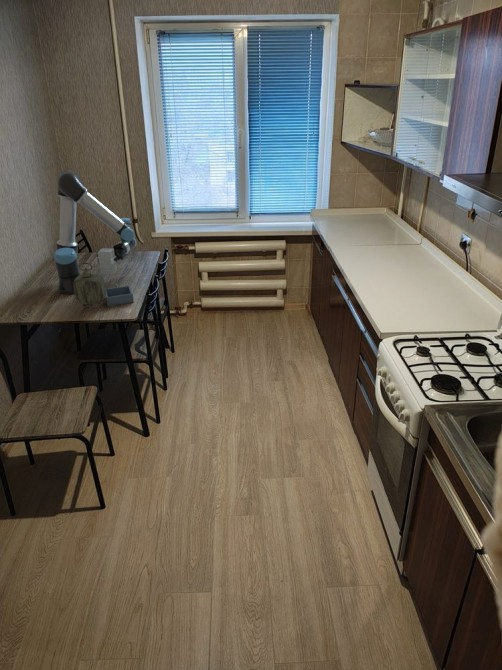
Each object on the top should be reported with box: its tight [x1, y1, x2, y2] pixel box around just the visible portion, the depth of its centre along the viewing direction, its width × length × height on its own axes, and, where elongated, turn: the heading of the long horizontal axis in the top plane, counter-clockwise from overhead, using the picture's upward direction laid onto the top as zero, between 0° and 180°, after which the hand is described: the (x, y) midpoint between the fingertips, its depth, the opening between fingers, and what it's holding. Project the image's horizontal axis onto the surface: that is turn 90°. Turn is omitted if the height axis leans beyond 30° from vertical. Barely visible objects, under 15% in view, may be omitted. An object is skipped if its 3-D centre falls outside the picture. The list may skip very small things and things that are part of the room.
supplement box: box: [97, 247, 118, 275], centre depth 273 cm, size 7×7×13 cm
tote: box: [105, 285, 135, 307], centre depth 267 cm, size 14×14×5 cm
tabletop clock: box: [73, 262, 107, 311], centre depth 253 cm, size 14×9×25 cm, turn 92°
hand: (103, 261), depth 269 cm, fingers closed on supplement box, 8 cm apart
